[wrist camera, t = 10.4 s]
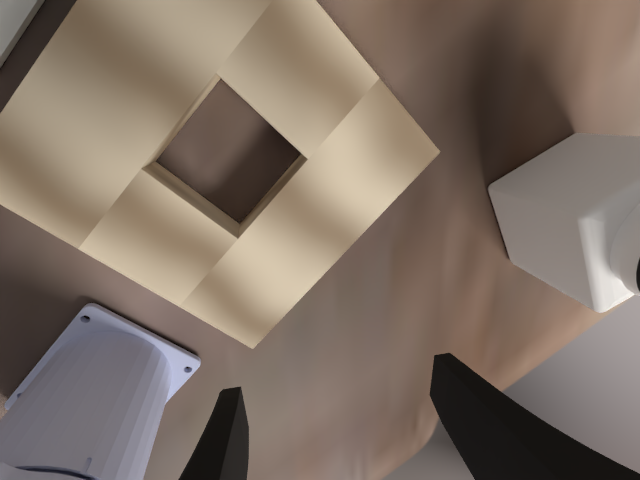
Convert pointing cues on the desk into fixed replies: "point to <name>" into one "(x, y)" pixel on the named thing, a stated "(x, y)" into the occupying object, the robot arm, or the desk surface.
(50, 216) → the bore block
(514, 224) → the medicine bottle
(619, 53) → the desk surface
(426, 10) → the desk surface
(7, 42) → the mat
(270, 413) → the desk surface
